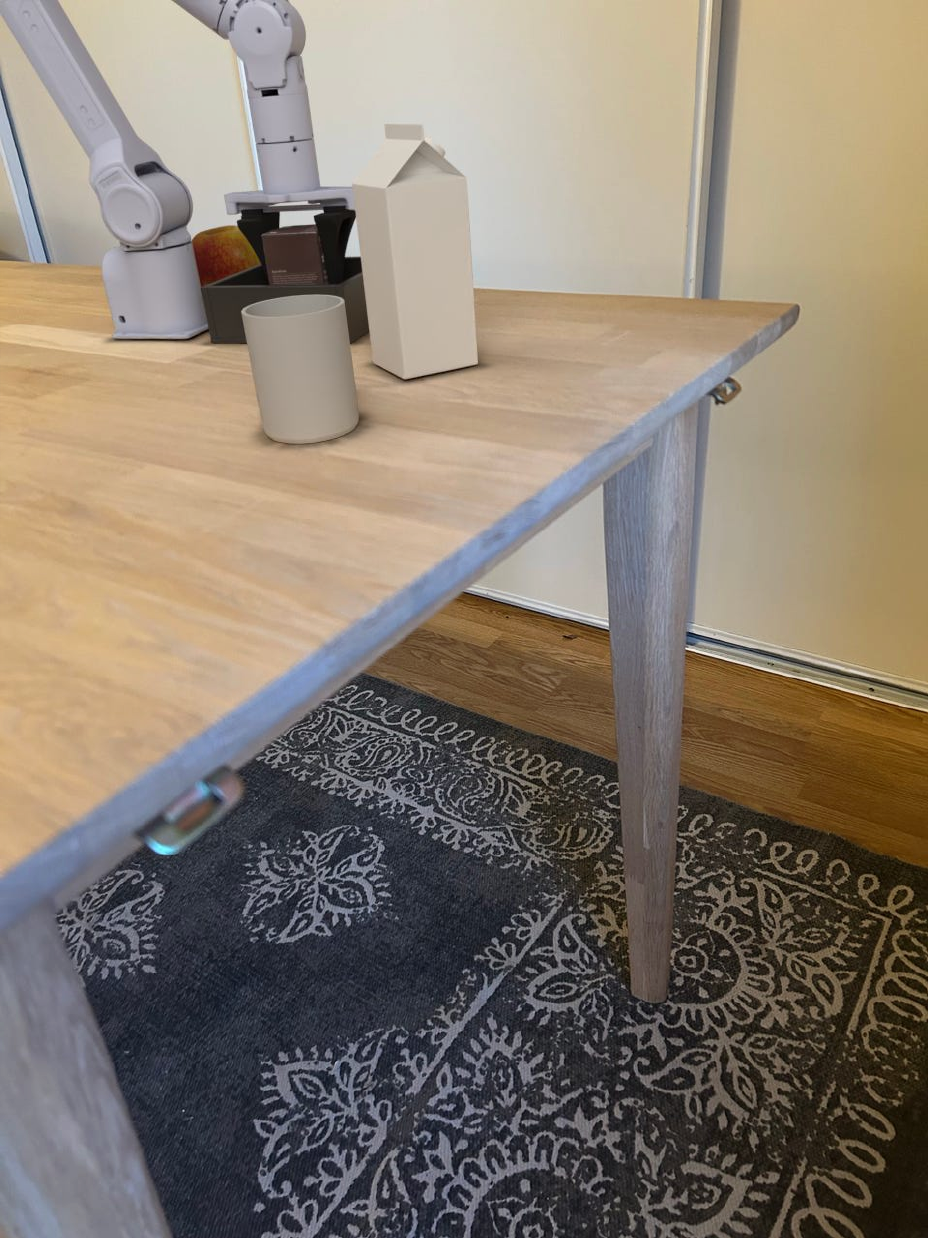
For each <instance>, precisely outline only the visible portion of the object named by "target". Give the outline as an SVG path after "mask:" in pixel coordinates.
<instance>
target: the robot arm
mask: <svg viewBox="0 0 928 1238" xmlns="http://www.w3.org/2000/svg"><path fill="white" fill-rule="evenodd" d="M171 1H172V2H173V3H174V4H176V5H177V6H179V7H180V8H181V9H183V10H184V11H186V12H187V13H188V14H189V15H190V16H192V17H193V18H195V19H196V20H198V21H199V22H200V23H201V24H203V25H204V26H205V27H207V28H208V29H209V30H211V31H212V32H214V33H215V34H216V35H217V36H219V37H220V38H221V39H223V40H225V41H228V40H229V43H230V45H231V48H232V50H233V52H234V53H235V55H236V56H237V57H238V58H239V60H240V61H241V62H242V63H243V64H242V65H243V69H244V77H245V83H246V94H247V100H248V106H249V112H250V118H251V124H252V130H253V135H254V143H255V149H256V157H257V161H258V169H259V174H260V180H261V187H262V189H260V190H249V191H248V190H247V191H235V192H234V191H233V192H229V193H225V194H223V198H224V204H225V208H226V209H225V210H226V214H227V215H228V216H230V215H231V216H232V215H234V216H235V215H239V214H241V216H240V218H239V219H237V220H236V226H238V228H239V230H240V231H241V232H242V233H243V235H244V236H245V237H246V239H247V240H248V242H249V243H250V245H251V246H252V248H253V250H254V251H255V253H256V255H257V257H258V259H259V261H260V263H261V265H262V267H263V270H264V272H265V274H266V277H267V279H268V282H269V278H268V272H267V266H266V260H265V254H264V248H263V241H262V234H264V233H267V232H269V231H270V230H274V229H278V228H280V226H281V225H280V222H281V213H282V212H284V213H285V212H286V213H287V212H307V211H308V212H309V211H311V212H312V211H322V212H321V213H318V214H315V215H313V220H314V224H316V227H317V229H318V233H319V236H320V239H321V243H322V247H323V252H324V257H325V266H326V274H327V278H328V282H329V284H340V283H342V282H343V271H344V261H345V257H346V254H347V248H348V243H349V239H350V236H351V232H352V229H353V227H354V224H355V222H356V212H355V204H354V195H353V187H352V186H321V180H320V173H319V165H318V158H317V152H316V151H317V150H316V144H315V136H314V135H315V134H314V128H313V119H312V112H311V105H310V98H309V89H308V85H307V83H306V76H305V68H304V61H303V56H302V53H303V52H304V49H305V45H306V40H307V30H306V26H305V22H304V20H303V18H302V16H301V14H300V12H299V10H298V9H297V8H295V6H294V5H293V4H291V2H290V0H171ZM0 16H1V17H2V19H3V21H4V22H5V24H6V26H7V28H8V29H9V31H10V33H11V34H12V36H13V37H14V39H15V40H16V42H17V44H18V45H19V47H20V49H21V50H22V52H23V53H24V55H25V57H26V58H27V60H28V61H29V63H30V65H31V66H32V68H33V69H34V71H35V73H36V75H37V76H38V78H39V79H40V81H41V83H42V85H43V86H44V87H45V89H46V91H47V92H48V94H49V96H50V97H51V100H52V101H53V102H54V104H55V106H56V107H57V110H59V112H60V114H61V116H62V117H63V118H64V120H65V122H66V123H67V125H68V127H69V129H70V130H71V132H72V134H74V136H75V138H76V139H77V142H78V143H79V145H80V146H81V148H82V150H83V151H84V153H85V154H86V156H87V158H88V159H89V169H88V171H89V173H88V182H89V183H88V184H89V185H90V186H91V188H92V190H93V191H94V193H95V195H96V197H97V200H98V203H99V209H100V214H101V219H102V221H103V223H104V226H105V227H106V229H107V230H108V232H109V233H110V234H111V236H113V237H114V238H115V239H116V240H117V241H118V242H119V246H115V247H112V248H110V249H108V250H107V251H106V253H105V254H104V256H103V257H102V258H103V259H102V263H101V278H102V282H103V283H102V284H103V287H104V291H105V295H106V298H107V303H108V307H109V312H110V314H111V318H112V319H111V320H112V322H113V327H114V331H115V332H113V333H112V334H111V338H112V339H114V340H115V339H118V340H120V339H121V340H126V339H127V340H187V339H190V338H192V337H195V336H196V335H199V334H201V333H203V332H205V331H207V330H209V328H208V323H207V318H206V313H205V308H204V303H203V299H202V294H201V289H200V288H201V284H200V279H199V274H198V269H197V264H196V260H195V255H194V250H193V245H192V242H191V241H192V235H191V234H190V232H189V231H188V227H187V226H188V225H189V223H190V222H191V219H192V216H193V212H194V201H193V197H192V194H191V192H190V190H189V188H188V186H187V185H186V183H185V182H184V181H183V180H182V178H180V177H179V176H178V175H176V174H175V173H174V172H172V171H171V170H170V169H169V168H168V167H167V166H166V164H165V163H164V162H163V160H162V159H161V156H160V155H159V154H158V152H157V151H156V150H155V149H154V148H152V147H151V146H150V145H149V144H148V143H146V142H145V141H144V140H143V139H142V138H140V137H139V136H138V134H137V132H136V131H135V129H134V128H133V126H132V124H131V122H130V121H129V119H128V117H127V116H126V114H125V112H124V110H123V109H122V107H121V105H120V104H119V102H118V100H117V99H116V97H115V95H114V93H113V92H112V90H111V88H110V87H109V85H108V83H107V82H106V80H105V78H104V76H103V75H102V73H101V71H100V69H99V68H98V65H97V64H96V63H95V61H94V59H93V58H92V56H91V54H90V52H89V50H88V49H87V47H86V45H85V44H84V42H83V40H82V39H81V37H80V36H79V34H78V32H77V31H76V28H75V27H74V25H73V23H72V22H71V20H70V18H69V16H68V15H67V14H66V11H65V10H64V8H63V6H62V5H61V3H60V1H59V0H0ZM300 202H307V204H293V205H292V204H291V205H278V204H285V203H286V204H288V203H289V204H290V203H300ZM269 285H270V284H269Z"/></svg>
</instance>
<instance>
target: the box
mask: <svg viewBox="0 0 928 1238" xmlns="http://www.w3.org/2000/svg"><path fill="white" fill-rule="evenodd" d="M262 241H263V248H264V254H265V260H266V266H267V272H268V278H269V284H270V285H314V284H329V282H328V278H327V274H326V266H325V257H324V252H323V247H322V243H321V239H320V236H319V233H318V229H317V227H316V224H315V223H314V224H313V223H312V224H299V225H298V224H294V225H285V226H280V227H279V228H278V229H274V230H270V231H269V232H267V233H264V234H262Z"/></svg>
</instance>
